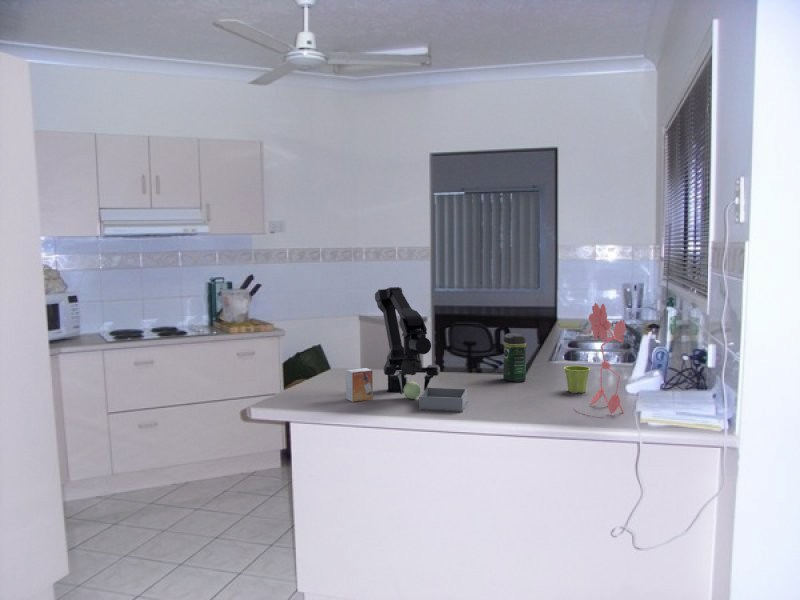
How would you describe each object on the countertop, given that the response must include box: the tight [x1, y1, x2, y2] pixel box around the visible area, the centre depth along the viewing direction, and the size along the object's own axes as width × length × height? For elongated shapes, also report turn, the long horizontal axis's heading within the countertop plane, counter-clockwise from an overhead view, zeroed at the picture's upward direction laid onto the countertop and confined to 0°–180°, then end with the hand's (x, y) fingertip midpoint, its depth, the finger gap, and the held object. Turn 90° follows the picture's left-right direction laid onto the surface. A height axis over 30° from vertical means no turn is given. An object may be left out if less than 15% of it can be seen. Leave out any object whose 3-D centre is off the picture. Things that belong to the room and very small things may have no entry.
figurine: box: [573, 302, 627, 419], centre depth 216 cm, size 15×26×35 cm, turn 11°
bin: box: [418, 386, 468, 413], centre depth 225 cm, size 14×14×4 cm
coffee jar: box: [502, 332, 527, 383], centre depth 265 cm, size 10×8×19 cm
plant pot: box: [563, 365, 591, 394], centre depth 244 cm, size 9×9×9 cm
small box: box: [345, 367, 374, 403], centre depth 235 cm, size 8×6×10 cm
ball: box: [403, 381, 422, 400], centre depth 236 cm, size 6×6×6 cm
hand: (413, 394), depth 236 cm, fingers open, 8 cm apart
